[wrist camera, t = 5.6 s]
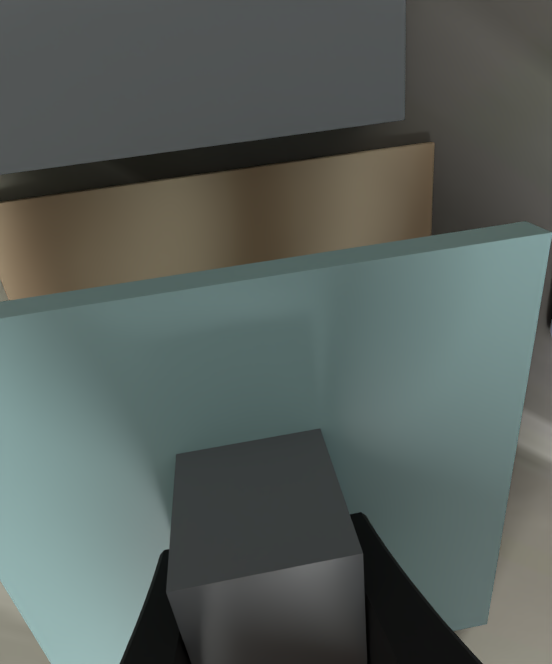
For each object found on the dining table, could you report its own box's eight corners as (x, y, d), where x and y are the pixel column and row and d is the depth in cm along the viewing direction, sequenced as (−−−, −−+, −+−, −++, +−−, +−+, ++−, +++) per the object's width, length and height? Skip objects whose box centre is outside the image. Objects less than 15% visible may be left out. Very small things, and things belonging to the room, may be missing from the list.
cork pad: (430, 141, 15) (434, 142, 15) (419, 473, 21) (422, 478, 21) (-24, 204, 14) (-29, 207, 14) (105, 532, 20) (104, 537, 20)
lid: (525, 221, 9) (708, 298, 6) (473, 598, 15) (551, 747, 12) (-117, 319, 8) (-328, 474, 5) (85, 679, 14) (49, 864, 11)
